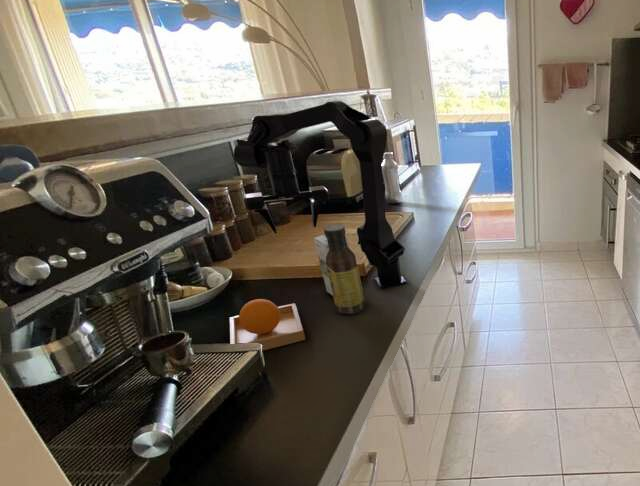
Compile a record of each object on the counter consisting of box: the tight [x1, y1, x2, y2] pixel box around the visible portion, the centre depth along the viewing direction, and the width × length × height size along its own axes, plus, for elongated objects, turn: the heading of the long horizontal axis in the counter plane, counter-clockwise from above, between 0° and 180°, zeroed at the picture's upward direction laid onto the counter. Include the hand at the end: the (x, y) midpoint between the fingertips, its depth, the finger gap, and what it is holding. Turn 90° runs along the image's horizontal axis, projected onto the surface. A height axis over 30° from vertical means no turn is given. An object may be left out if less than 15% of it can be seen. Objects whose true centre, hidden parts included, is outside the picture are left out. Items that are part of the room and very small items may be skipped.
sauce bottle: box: [323, 224, 365, 315], centre depth 98 cm, size 6×6×20 cm
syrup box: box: [313, 234, 350, 297], centre depth 107 cm, size 6×6×14 cm
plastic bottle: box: [382, 151, 403, 204], centre depth 180 cm, size 6×7×20 cm
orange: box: [238, 298, 281, 334], centre depth 91 cm, size 7×7×7 cm
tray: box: [229, 302, 306, 351], centre depth 93 cm, size 14×13×2 cm
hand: (295, 229), depth 116 cm, fingers open, 9 cm apart
